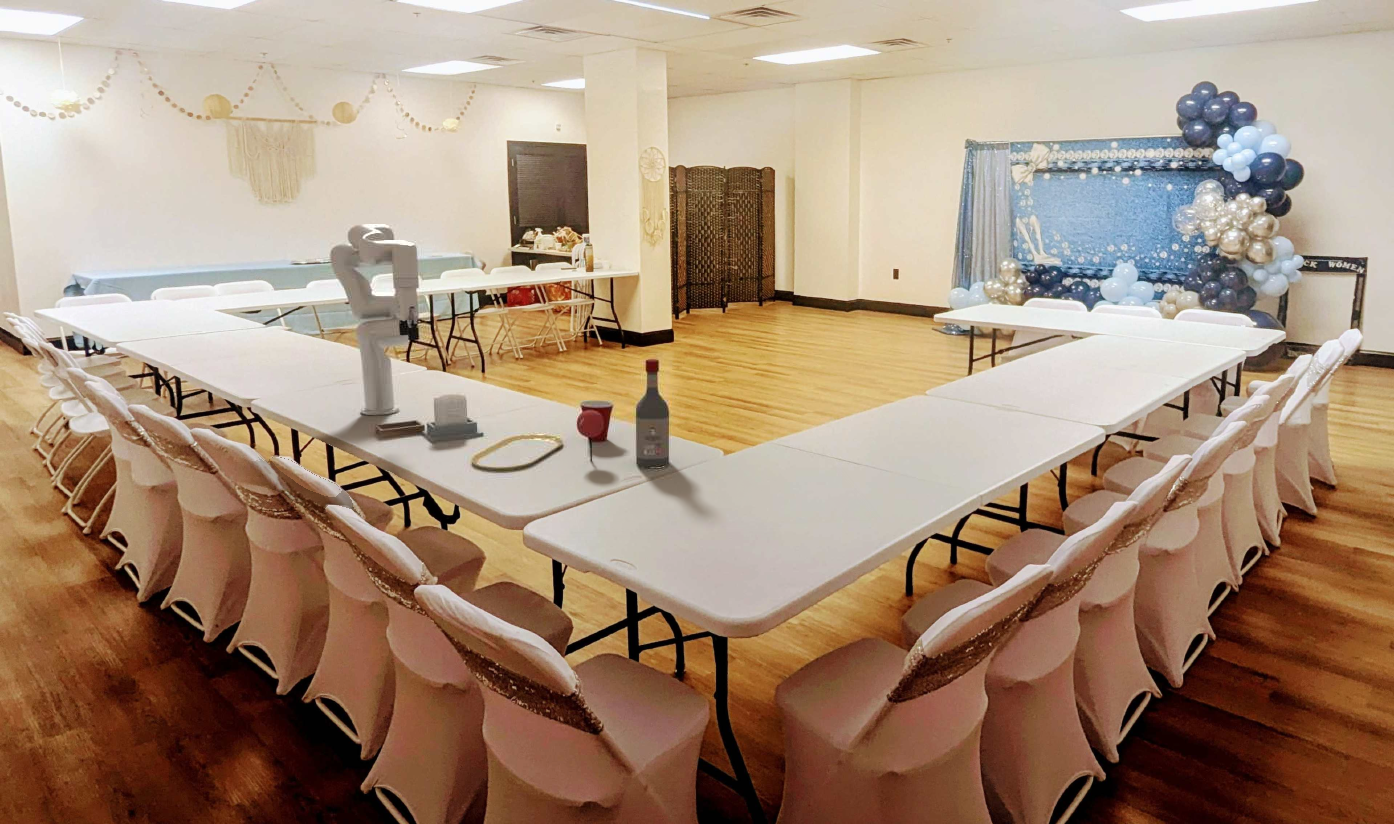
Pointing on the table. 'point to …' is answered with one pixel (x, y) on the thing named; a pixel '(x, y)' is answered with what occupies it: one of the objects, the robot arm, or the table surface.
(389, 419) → the table surface
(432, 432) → the docking base
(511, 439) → the gold oval ring
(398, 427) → the wooden picture frame
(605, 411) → the plastic cup
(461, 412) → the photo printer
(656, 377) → the liquor
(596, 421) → the lollipop
